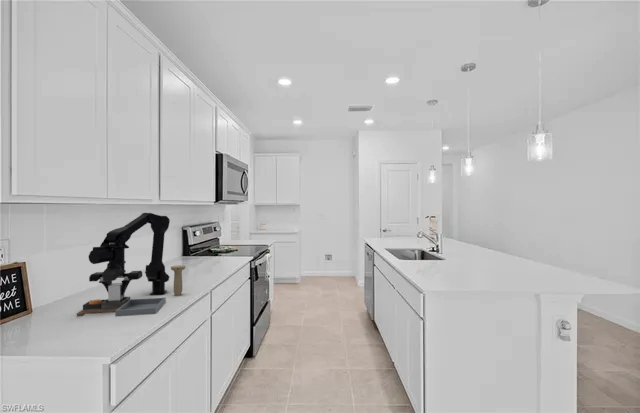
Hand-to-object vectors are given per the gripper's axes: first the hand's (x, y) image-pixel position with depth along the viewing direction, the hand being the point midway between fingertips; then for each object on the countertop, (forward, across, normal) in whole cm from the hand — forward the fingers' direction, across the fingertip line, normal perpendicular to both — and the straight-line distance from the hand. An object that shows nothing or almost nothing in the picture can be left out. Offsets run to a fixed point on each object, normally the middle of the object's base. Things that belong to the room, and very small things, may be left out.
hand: (116, 295), depth 132 cm
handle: (+6, +22, +13) cm, 26 cm away
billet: (+2, 0, 0) cm, 2 cm away
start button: (+4, -8, 0) cm, 9 cm away
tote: (+6, +12, -6) cm, 14 cm away
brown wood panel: (+6, -4, 0) cm, 7 cm away
